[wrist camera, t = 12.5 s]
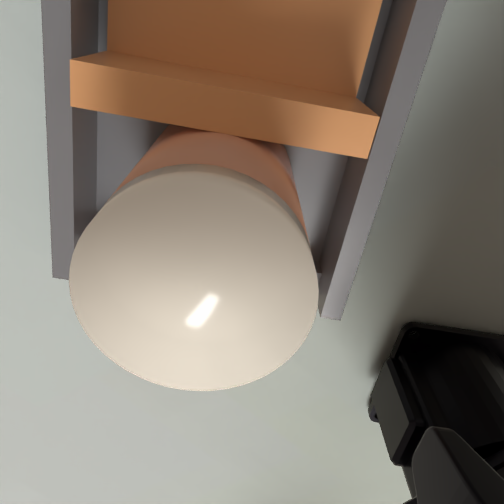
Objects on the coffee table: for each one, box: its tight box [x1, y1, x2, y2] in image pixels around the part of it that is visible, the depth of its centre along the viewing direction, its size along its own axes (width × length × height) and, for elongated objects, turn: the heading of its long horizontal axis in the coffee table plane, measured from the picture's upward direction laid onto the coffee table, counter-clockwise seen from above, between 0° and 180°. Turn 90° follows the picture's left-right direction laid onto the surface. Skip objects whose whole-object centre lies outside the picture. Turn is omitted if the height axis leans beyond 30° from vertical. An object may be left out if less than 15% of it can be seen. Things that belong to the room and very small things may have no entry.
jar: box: [69, 124, 319, 391], centre depth 14 cm, size 6×6×8 cm
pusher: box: [70, 0, 383, 159], centre depth 13 cm, size 8×5×4 cm, turn 80°
